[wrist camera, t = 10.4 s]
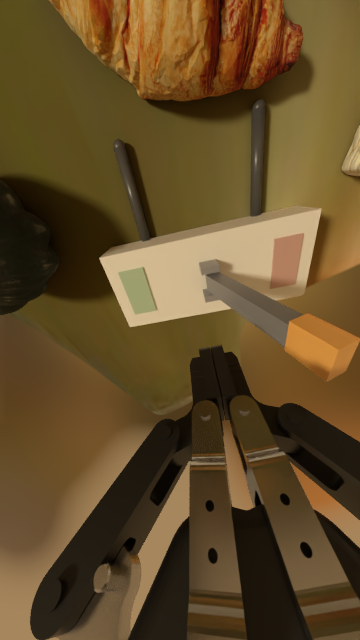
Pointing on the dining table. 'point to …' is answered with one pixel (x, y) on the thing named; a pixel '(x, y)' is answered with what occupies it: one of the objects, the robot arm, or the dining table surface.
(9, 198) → the squash
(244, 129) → the dining table surface
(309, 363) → the lever
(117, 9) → the croissant
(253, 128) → the switch block
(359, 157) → the storage basket
